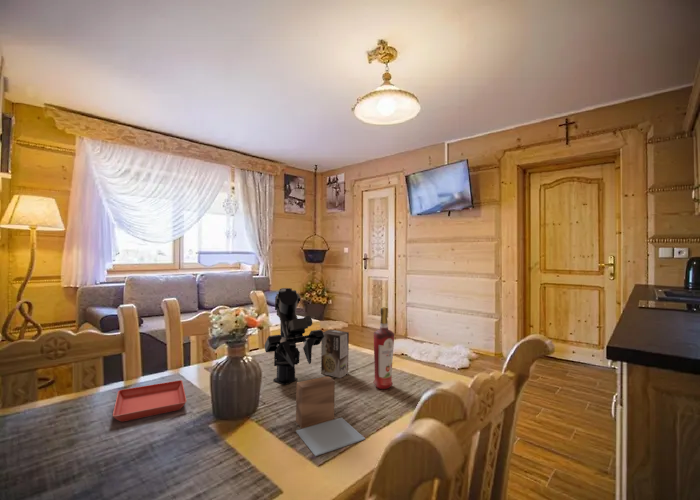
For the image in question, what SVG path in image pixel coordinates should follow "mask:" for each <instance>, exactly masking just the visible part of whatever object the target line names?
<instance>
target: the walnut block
mask: <svg viewBox="0 0 700 500" xmlns="http://www.w3.org/2000/svg"><path fill="white" fill-rule="evenodd" d="M335 382H336V381H335V380H334V379H333V378H332V377H330V376H329V375H326V376H322V377H317V378H313V379H307V380H303V381H298V382H296V391H295V393H296V395H295V396H296V397H295V398H296V399H295V401H296V403H295V407H296V408H295V423H297V425H298V426H299V427H300V429H303V428H307V427H310V426H313V425H317V424H320V423H324V422H327V421H331V420H334V419H335V399H336V397H335V393H336V392H335V389H336V383H335Z"/></svg>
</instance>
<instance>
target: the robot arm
mask: <svg viewBox="0 0 700 500" xmlns="http://www.w3.org/2000/svg"><path fill="white" fill-rule="evenodd" d="M274 300H275V301H274V310H275V311H276V316H277V317H278V318H279V322H280V323H279V324H280V326H279V327H280V332H279V333H280V334H274V335H268V337H267V338H266V341H265V343H264V351H265V353H272V352H274V353H273V354H274V355H273V357H274V358H273V359H274V360H273V362H274V363H273V365H274V367H276V377H275V378H273V379H272V380H273V381H274V382H276V383H279V384H281V385H283V386H284V385H288V384H291V383H293V382H295V381H298V379H299V378H297V376H296V367H295V366H298V364H299V363H300V353H301V352H300V351H299V347H297V344H298V343H303V347H302V349H303V352H304V356H305V357H306V361H307V363H308V365H310V364H311V363H312V353H313V352H312V351H313V346H318V345H320V344H321V341H322V339H323V338H324V333H323V332H324V331H323V330H322V329H314V330H310V331H309V334H308V335H307V334H306V335H304V334H305V333H306V329H309V327H311V326H312V325H313V320H312V316H311V315H306V316H303V317H301V318H298V315H297V307H298V304H300V302H301V301H302V300H301V296H300V295H299V293H297V290H295V289H294V290H293V289H292V288H290V287H283V288H282V287H281V288H279V290H278V293H276V296H275V297H274Z"/></svg>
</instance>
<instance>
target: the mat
mask: <svg viewBox="0 0 700 500" xmlns="http://www.w3.org/2000/svg"><path fill="white" fill-rule="evenodd" d="M295 432H296V434H297V435H298V436H299V438H300V439H301V440H302V442H304V444H305V445H306V446H307V448H308V449H309V450H310V452H311V453H312V454H313V455H314V456H315V457H318V456H320V455H323V454H327V453H329V452H332V451H336V450H339V449H341V448H345V447H347V446H350V445H353V444H355V443H356V444H357V443H358V442H361V441H365V440H366V437H364V435H362V434H361V433H360V432H359V431H358V430H357V429H355V428H354V427H353V426H352V425H351V424H350V423H349V422H347V420H345V419H344V418H343V417H337V418H334V419H333V420H329V421H326V422H322V423H319V424H315V425H312V426H308V427H305V428H300V429H296V430H295Z"/></svg>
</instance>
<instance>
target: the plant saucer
mask: <svg viewBox="0 0 700 500" xmlns="http://www.w3.org/2000/svg"><path fill="white" fill-rule="evenodd" d="M186 403H187V396H186V391H185V387H184V381H183V380H181V379H180V380H174V381H168V382H160V383H156V384H150V385H149V384H148V385H144V386H143V385H142V386H137V387H132V388H131V387H130V388H125V389H124V388H123V389H120V390H117V394H116V400H115V404H114V407H113V412H112V417H113V418H114V419H115V420H117V421H119V422H121V423H122V422H128V421H132V420H137V419H143V418H146V417H147V418H148V417H151V416H156V415H161V414H166V413H170V412H175V411H179V410H181V409H182V408H183V407H184V406H185V404H186Z"/></svg>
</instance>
